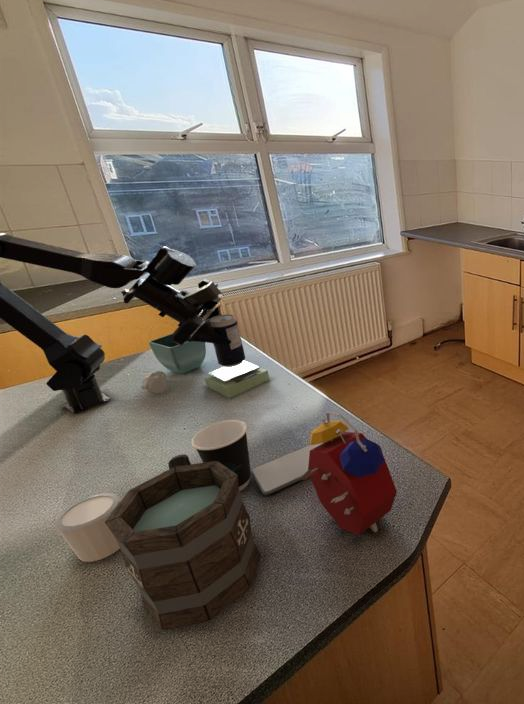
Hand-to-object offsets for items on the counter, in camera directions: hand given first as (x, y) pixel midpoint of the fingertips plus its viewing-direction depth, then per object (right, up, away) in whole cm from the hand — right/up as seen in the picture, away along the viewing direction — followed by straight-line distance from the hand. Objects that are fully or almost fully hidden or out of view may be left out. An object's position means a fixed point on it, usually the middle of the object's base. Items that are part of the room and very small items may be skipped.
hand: (233, 338), depth 104 cm
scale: (-1, -11, +4) cm, 12 cm away
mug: (+23, -31, -42) cm, 57 cm away
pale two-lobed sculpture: (-19, -13, +1) cm, 23 cm away
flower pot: (-19, -9, +11) cm, 24 cm away
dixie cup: (+18, -25, -27) cm, 41 cm away
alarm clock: (+41, -28, -34) cm, 61 cm away
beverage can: (-1, -6, +2) cm, 7 cm away
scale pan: (-2, -9, +3) cm, 9 cm away
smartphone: (+28, -23, -23) cm, 43 cm away
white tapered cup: (+6, -30, -39) cm, 49 cm away
